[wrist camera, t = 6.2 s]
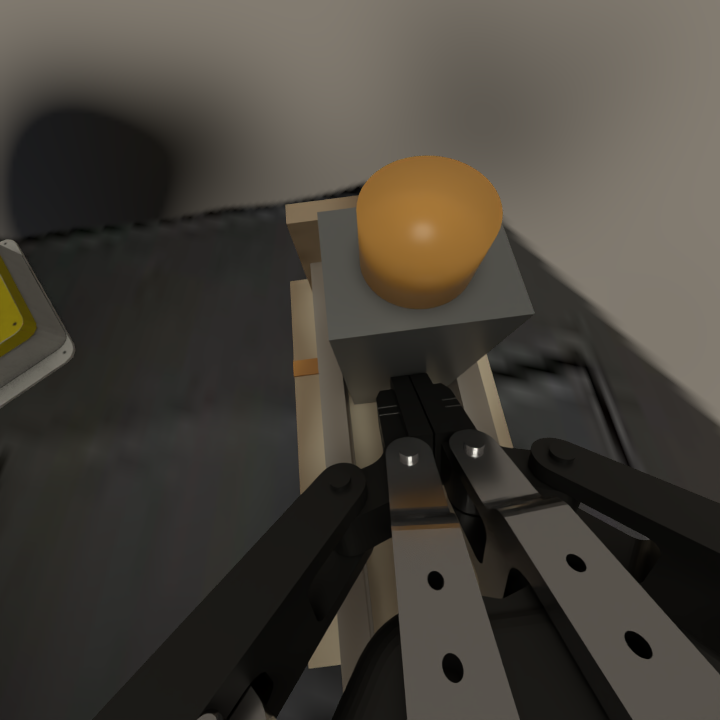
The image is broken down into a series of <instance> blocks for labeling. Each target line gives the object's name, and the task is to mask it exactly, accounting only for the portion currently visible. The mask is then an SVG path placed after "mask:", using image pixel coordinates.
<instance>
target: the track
mask: <svg viewBox="0 0 720 720" xmlns="http://www.w3.org/2000/svg"><path fill="white" fill-rule="evenodd" d="M358 197H359V195H358V196H351V197H343V198H335V199H328V200H320V201H312V202H305V203H297V204H289V205H286V224H287V227H288V229H289V232H290V235H291V237H292V240H293V242H294V245H295V248H296V250H297V253H298V256H299V258H300V261H301V264H302V266H303V269H304V271H305V274H306V277H307V279H305V280H298V281H290V287H291V308H292V329H293V350H294V361H293V367H294V377H295V392H296V413H297V434H298V455H299V476H300V495H301V494H302V493H303V492H304V491H305V490H306V489H307V488H308V487H309V486H310V485H311V483H312V482H313V481H314V480H315V479H316V478H317V477H318V476H319V475H320V474H321V473H322V472H323V471H324V470H325V469H326V468H328V467H329V466H331V465H334V464H337V463H351V464H354V465H356V466H358V467H359V468H360V469H362V468H364V467H367V466H369V465H371V464H373V463H374V462H376V461H377V460H378V459H379V458H380V457H381V456H382V454H383V448H382V442H381V436H380V431H379V423H378V413H377V404H376V402H370V403H363V404H355V405H354V402H353V400H352V397H351V395H350V392H349V390H348V387H347V385H346V382H345V380H344V377H343V375H342V372H341V370H340V367H339V365H338V362H337V360H336V357H335V355H334V352H333V349H332V347H331V344H330V342H329V336H328V326H327V315H326V304H325V293H324V282H323V272H322V261H321V250H320V239H319V228H318V218H317V212H323V211H331V210H338V209H346V208H354V207H357V200H358ZM447 387H448V388H450V389H451V390H452V392H453V393H454V395H455V396H456V399H457V400H458V401H459V403H460V405H461V406H462V407H463V409H464V410H465V412H466V413H467V415H468V416H469V418H470V419H471V421H472V423H473V424H474V426H475V427H476V429H477V430H478V431H481V432H484V433H486V434H488V435H489V436H491V437H492V438H493V439H494V440H495V441H496V442H497V443H498V444H499V446H503V447H508V448H513V446H512V442H511V439H510V435H509V432H508V428H507V425H506V421H505V418H504V414H503V411H502V407H501V404H500V400H499V396H498V393H497V389H496V386H495V382H494V379H493V375H492V372H491V368H490V365H489V361H488V358H487V354H486V355H484V356H483V357H482V358H481V359H480V360H478V361H477V362H476V363H475V364H474V365H472V366H471V367H470V368H469V369H468V370H466V371H465V372H464V373H463V374H462V375H460V376H459V377H458V378H457V379H456V380H454V381H453V382H452V383H451V384H449V385H448V386H447ZM442 487H443V490H444V494H445V497H446V501H447V493H446V490H445V488H444V485H442ZM470 560H471V559H470ZM471 563H472V561H471ZM472 566H473V563H472ZM473 570H474V573H475V576H476V579H477V583H478V586H479V582H478V577H477V574H476V571H475V568H474V566H473ZM479 589H480V588H479ZM481 596H482V595H481ZM396 614H398V601H397V589H396V577H395V565H394V553H393V541H392V538H390V539H388V540H386V541H384V542H382V543H380V544H379V545H377V546H375V547H374V549H373V551H372V554H371V555H370V557H369V559H368V561H367V562H366V564H365V566H364V567H363V569H362V571H361V573H360V574H359V576H358V578H357V580H356V581H355V583H354V585H353V586H352V588H351V590H350V592H349V593H348V595H347V597H346V599H345V600H344V602H343V604H342V605H341V607H340V609H339V611H338V612H337V614H336V616H335V617H334V619H333V621H332V623H331V624H330V626H329V628H328V630H327V631H326V633H325V635H324V636H323V638H322V640H321V642H320V643H319V645H318V647H317V649H316V650H315V652H314V654H313V655H312V657H311V659H310V661H309V662H308V665H309V669H310V668H318V667H326V666H334V665H341V671H342V684H343V693H344V690H345V688H346V686H347V684H348V681H349V679H350V677H351V675H352V672H353V670H354V668H355V665H356V663H357V661H358V659H359V657H360V655H361V653H362V652H363V650H364V648H365V647H366V645H367V643H368V642H369V640H370V639H371V638H372V637H373V635H374V634H375V633H376V631H377V630H378V629H379V628H380V627H381V626H382V625H383V624H384V623H385V622H387V621H388V620H389V619H391V618H392V617H393V616H395V615H396Z"/></svg>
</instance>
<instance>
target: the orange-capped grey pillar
mask: <svg viewBox="0 0 720 720" xmlns="http://www.w3.org/2000/svg"><path fill="white" fill-rule="evenodd" d="M502 216H503V212H502V204H501V201H500V197H499V195H498V193H497V191H496V190H495V188H494V186H493V185H492V184H491V183H490V181H489V180H488V179H487V178H486V177H485V176H484V175H482V174H481V173H480V172H478V171H477V170H476V169H474V168H472V167H471V166H469V165H467V164H465V163H462V162H460V161H457V160H453V159H450V158H445V157H440V156H415V157H409V158H405V159H401V160H398V161H395V162H393V163H390V164H388V165H386V166H385V167H383V168H381V169H380V170H378V171H377V172H376V173H375V174H373V175H372V176H371V177H370V178H369V179H368V181H367V182H366V183H365V185H364V186H363V188H362V189H361V192H360V194H359V197H358V200H357V207H354V208H346V209H338V210H331V211H323V212H317V218H318V228H319V239H320V250H321V261H322V272H323V282H324V293H325V304H326V315H327V326H328V336H329V342H330V344H331V347H332V349H333V352H334V355H335V357H336V360H337V362H338V365H339V367H340V370H341V372H342V375H343V377H344V380H345V382H346V385H347V387H348V390H349V392H350V395H351V397H352V400H353V402H354V405H355V404H363V403H370V402H376V398H377V395H378V393H379V391H381V390H389V389H391V388H390V377H397V376H405V375H408V376H409V375H412V374H420V373H427V374H428V376H429V378H430V379H431V381H432V383H433V384H437V383H442V384H444V385H445V386H448V385H449V384H451V383H452V382H453V381H454V380H456V379H457V378H458V377H459V376H460V375H462V374H463V373H464V372H465V371H466V370H468V369H469V368H470V367H471V366H472V365H474V364H475V363H476V362H477V361H478V360H480V359H481V358H482V357H483V356H484V355H486V354H487V353H488V352H489V351H490V350H492V349H493V348H494V347H495V346H496V345H498V344H499V343H500V342H501V341H503V340H504V339H505V338H506V337H507V336H509V335H510V334H511V333H512V332H513V331H515V330H516V329H517V328H518V327H519V326H521V325H522V324H523V323H524V322H525V321H527V320H528V319H529V318H530V317H531V316H533V315H534V314H535V313H534V310H533V307H532V305H531V302H530V299H529V296H528V294H527V291H526V288H525V285H524V283H523V280H522V277H521V274H520V272H519V269H518V266H517V263H516V261H515V258H514V255H513V252H512V250H511V247H510V244H509V241H508V238H507V236H506V233H505V230H504V227H503V225H502Z"/></svg>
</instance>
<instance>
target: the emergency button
mask: <svg viewBox="0 0 720 720" xmlns="http://www.w3.org/2000/svg"><path fill="white" fill-rule="evenodd" d="M74 353H75V346H74V343H73V341H72V339H71V337H70V336H69V334H68V332H67V330H66V329H65V327H64V325H63V323H62V322H61V320H60V318H59V316H58V314H57V313H56V311H55V309H54V307H53V306H52V304H51V302H50V300H49V298H48V297H47V295H46V293H45V291H44V290H43V288H42V286H41V284H40V282H39V281H38V279H37V277H36V275H35V274H34V272H33V270H32V268H31V266H30V265H29V263H28V261H27V259H26V258H25V256H24V254H23V252H22V250H21V249H20V247H19V245H18V244H17V243H16V242H15V241H13V240H4V241H1V242H0V408H2V407H3V406H5V405H6V404H8V403H9V402H10V401H12V400H13V399H15V398H16V397H18V396H19V395H21V394H22V393H24V392H25V391H27V390H28V389H30V388H31V387H32V386H34V385H35V384H37V383H38V382H40V381H41V380H43V379H44V378H46V377H47V376H49V375H50V374H52V373H53V372H54V371H56V370H57V369H59V368H60V367H62V366H63V365H65V364H66V363H68V362H69V361H70V360H71V359H72V358H73V356H74Z"/></svg>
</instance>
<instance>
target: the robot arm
mask: <svg viewBox="0 0 720 720" xmlns="http://www.w3.org/2000/svg"><path fill="white" fill-rule="evenodd" d="M390 388H391V389H389V390H381V391H379V393H378V395H377V398H376V404H377V413H378V423H379V431H380V436H381V442H382V448H383V454H382V456H381V457H380V458H379V459H378V460H377V461H376V462H374V463H373V464H371V465H369V466H367V467H364V468H362V469H360V468H359V467H358V466H356V465H354V464H351V463H337V464H334V465H331V466H329V467H328V468H326V469H325V470H324V471H323V472H322V473H321V474H320V475H319V476H318V477H317V478H316V479H315V480H314V481H313V482H312V483H311V485H310V486H309V487H308V488H307V489H306V490H305V491H304V492H303V493H302V494H301V495H300V496H299V497H298V499H297V500H296V501H295V502H294V503H293V504H292V505H291V506H290V507H289V508H288V509H287V510H286V512H285V513H284V514H283V515H282V516H281V517H280V518H279V519H278V520H277V521H276V522H275V523H274V524H273V526H272V527H271V528H270V529H269V530H268V531H267V532H266V533H265V534H264V535H263V536H262V537H261V538H260V540H259V541H258V542H257V543H256V544H255V545H254V546H253V547H252V548H251V549H250V550H249V551H248V552H247V554H246V555H245V556H244V557H243V558H242V559H241V560H240V561H239V562H238V563H237V564H236V565H235V566H234V568H233V569H232V570H231V571H230V572H229V573H228V574H227V575H226V576H225V577H224V578H223V579H222V580H221V582H220V583H219V584H218V585H217V586H216V587H215V588H214V589H213V590H212V591H211V592H210V593H209V594H208V596H207V597H206V598H205V599H204V600H203V601H202V602H201V603H200V604H199V605H198V606H197V607H196V608H195V610H194V611H193V612H192V613H191V614H190V615H189V616H188V617H187V618H186V619H185V620H184V621H183V622H182V624H181V625H180V626H179V627H178V628H177V629H176V630H175V631H174V632H173V633H172V634H171V635H170V636H169V638H168V639H167V640H166V641H165V642H164V643H163V644H162V645H161V646H160V647H159V648H158V649H157V651H156V652H155V653H154V654H153V655H152V656H151V657H150V658H149V659H148V660H147V661H146V662H145V663H144V665H143V666H142V667H141V668H140V669H139V670H138V671H137V672H136V673H135V674H134V675H133V676H132V677H131V679H130V680H129V681H128V682H127V683H126V684H125V685H124V686H123V687H122V688H121V689H120V690H119V691H118V693H117V694H116V695H115V696H114V697H113V698H112V699H111V700H110V701H109V702H108V703H107V704H106V705H105V707H104V708H103V709H102V710H101V711H100V712H99V713H98V714H97V715H96V716H95V717H94V718H93V719H92V720H276V718H277V716H278V714H279V712H280V711H281V709H282V707H283V705H284V704H285V702H286V700H287V699H288V697H289V695H290V693H291V692H292V690H293V688H294V686H295V685H296V683H297V681H298V680H299V678H300V676H301V674H302V673H303V671H304V669H305V668H306V666H307V664H308V662H309V661H310V659H311V657H312V655H313V654H314V652H315V650H316V649H317V647H318V645H319V643H320V642H321V640H322V638H323V636H324V635H325V633H326V631H327V630H328V628H329V626H330V624H331V623H332V621H333V619H334V617H335V616H336V614H337V612H338V611H339V609H340V607H341V605H342V604H343V602H344V600H345V599H346V597H347V595H348V593H349V592H350V590H351V588H352V586H353V585H354V583H355V581H356V580H357V578H358V576H359V574H360V573H361V571H362V569H363V567H364V566H365V564H366V562H367V561H368V559H369V557H370V555H371V554H372V551H373V549H374V547H375V546H377V545H379V544H380V543H382V542H384V541H386V540H388V539H390V538H392V541H393V553H394V565H395V577H396V589H397V601H398V614H396V615H395V616H393V617H392V618H391V619H389V620H388V621H387V622H385V623H384V624H383V625H382V626H381V627H380V628H379V629H378V630H377V631H376V633H375V634H374V635H373V637H372V638H371V639H370V640H369V642H368V643H367V645H366V647H365V648H364V650H363V652H362V653H361V655H360V657H359V659H358V661H357V663H356V665H355V668H354V670H353V672H352V675H351V677H350V679H349V681H348V684H347V686H346V688H345V690H344V693H343V695H342V697H341V700H340V702H339V704H338V706H337V709H336V711H335V713H334V715H333V718H332V720H720V503H717V502H715V501H712V500H710V499H707V498H705V497H702V496H700V495H697V494H695V493H692V492H690V491H688V490H685V489H683V488H680V487H678V486H675V485H673V484H670V483H668V482H665V481H663V480H661V479H658V478H656V477H653V476H651V475H648V474H646V473H643V472H641V471H638V470H636V469H634V468H631V467H629V466H626V465H624V464H621V463H619V462H616V461H614V460H611V459H609V458H607V457H604V456H602V455H599V454H597V453H594V452H592V451H589V450H587V449H584V448H582V447H580V446H577V445H575V444H572V443H570V442H567V441H564V440H561V439H556V438H542V439H539V440H536V441H535V442H534V443H533V444H532V446H531V450H524V449H516V448H508V447H503V446H499V444H498V443H497V442H496V441H495V440H494V439H493V438H492V437H491V436H489V435H488V434H486V433H484V432H481V431H478V430H477V429H476V427H475V426H474V424H473V423H472V421H471V419H470V418H469V416H468V415H467V413H466V412H465V410H464V409H463V407H462V406H461V405H460V403H459V401H458V400H457V399H456V396H455V395H454V393H453V392H452V390H451V389H450V388H448V387H447V386H445V385H444V384H442V383H437V384H433V383H432V381H431V379H430V378H429V376H428V374H427V373H420V374H412V375H409V376H408V375H405V376H397V377H390ZM442 485H444V488H445V490H446V493H447V501H446V497H445V494H444V490H443V487H442ZM580 502H581V503H583V504H585V505H587V506H589V507H591V508H593V509H595V510H597V511H599V512H601V513H602V514H604V515H606V516H608V517H610V518H612V519H614V520H616V521H618V522H620V523H622V524H623V525H625V526H627V527H629V528H631V529H633V530H635V531H637V532H639V533H641V534H643V535H644V536H646V537H648V538H649V539H650V540H639V539H636V538H633V537H631V536H629V535H627V534H625V533H623V532H622V531H620V530H618V529H616V528H614V527H612V526H610V525H609V524H607V523H605V522H603V521H601V520H599V519H597V518H596V517H594V516H592V515H590V514H588V513H586V512H585V511H583V510H581V509H579V508H578V507H579V505H580ZM470 559H471V560H470ZM471 561H472V563H473V566H474V568H475V571H476V574H477V577H478V582H479V586H478V583H477V579H476V576H475V573H474V570H473V566H472V563H471ZM479 588H480V589H479ZM481 595H482V596H481Z"/></svg>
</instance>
